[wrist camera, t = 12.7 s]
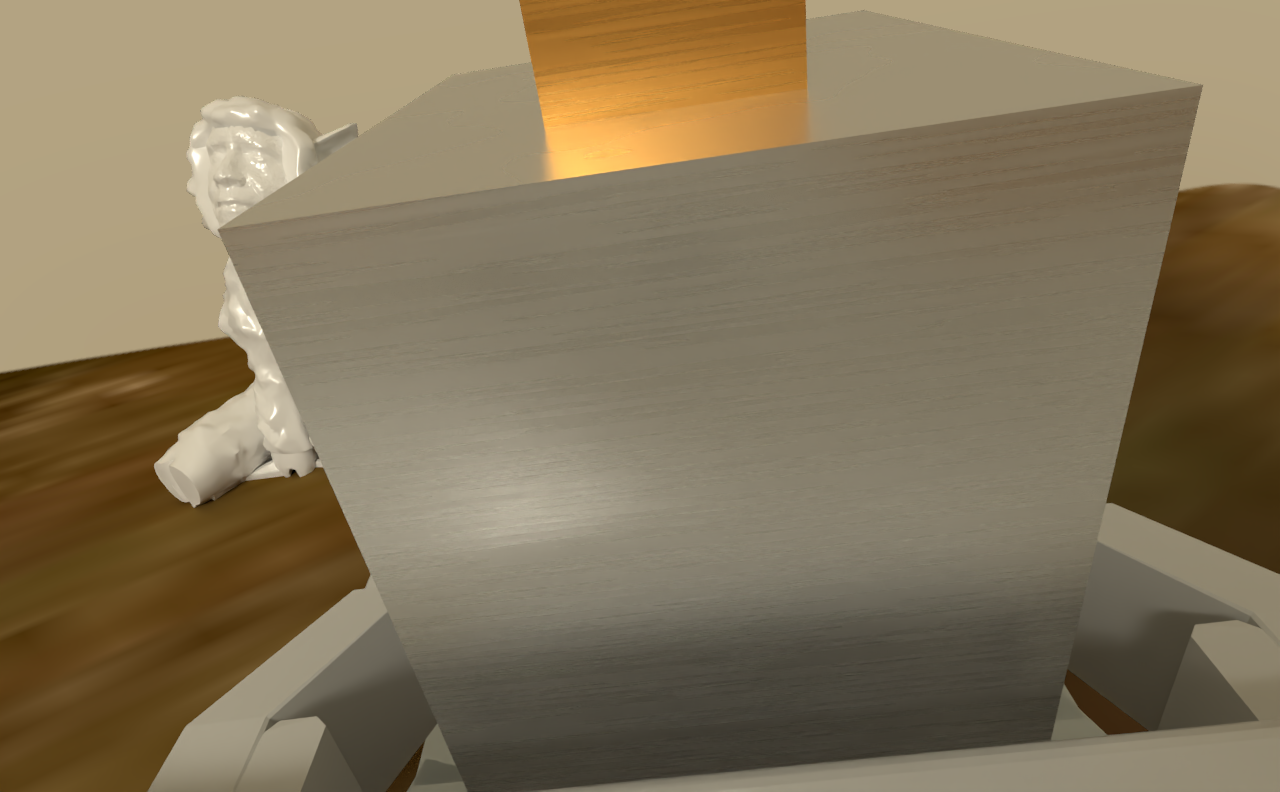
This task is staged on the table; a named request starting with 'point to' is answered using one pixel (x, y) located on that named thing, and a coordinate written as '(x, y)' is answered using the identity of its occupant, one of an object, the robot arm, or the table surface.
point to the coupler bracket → (444, 788)
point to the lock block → (728, 379)
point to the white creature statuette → (245, 299)
